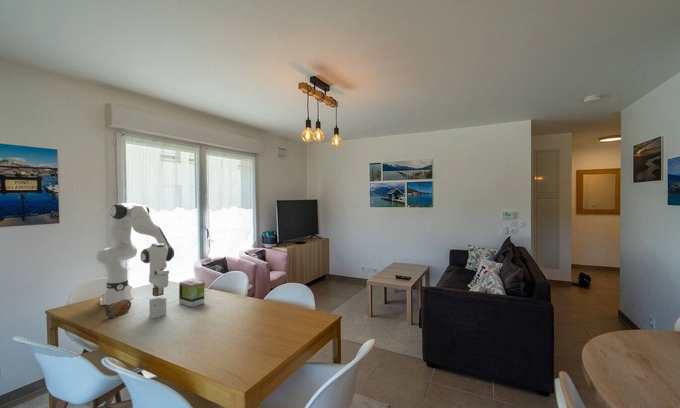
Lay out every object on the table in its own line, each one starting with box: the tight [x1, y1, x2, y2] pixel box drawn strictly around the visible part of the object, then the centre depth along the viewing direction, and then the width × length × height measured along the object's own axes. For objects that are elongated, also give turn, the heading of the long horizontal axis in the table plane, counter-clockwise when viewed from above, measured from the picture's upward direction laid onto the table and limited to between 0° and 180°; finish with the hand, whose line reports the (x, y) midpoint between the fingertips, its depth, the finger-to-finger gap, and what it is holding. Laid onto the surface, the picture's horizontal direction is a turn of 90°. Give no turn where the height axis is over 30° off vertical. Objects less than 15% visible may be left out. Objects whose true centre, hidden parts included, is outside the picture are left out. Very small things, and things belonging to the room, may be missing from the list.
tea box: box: [178, 279, 205, 308], centre depth 198 cm, size 15×10×15 cm, turn 58°
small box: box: [149, 295, 167, 319], centre depth 176 cm, size 8×6×10 cm
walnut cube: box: [152, 287, 165, 298], centre depth 176 cm, size 4×4×4 cm
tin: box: [104, 299, 132, 319], centre depth 177 cm, size 15×3×8 cm, turn 168°
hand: (158, 292), depth 176 cm, fingers closed on walnut cube, 4 cm apart
